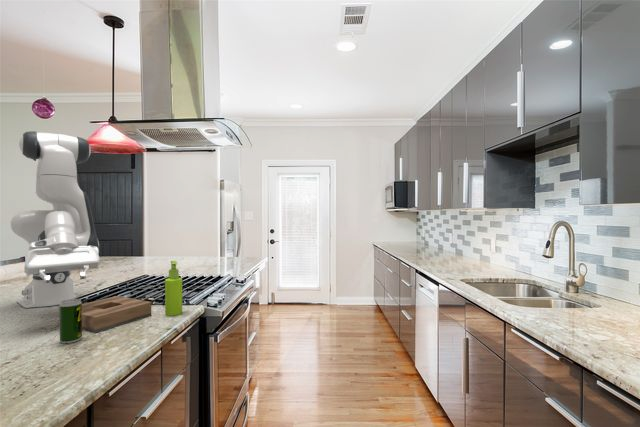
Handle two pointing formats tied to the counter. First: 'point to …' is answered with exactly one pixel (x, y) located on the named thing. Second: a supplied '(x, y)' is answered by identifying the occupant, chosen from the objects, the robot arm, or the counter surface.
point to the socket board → (113, 313)
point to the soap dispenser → (173, 292)
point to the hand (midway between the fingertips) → (65, 279)
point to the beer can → (70, 320)
